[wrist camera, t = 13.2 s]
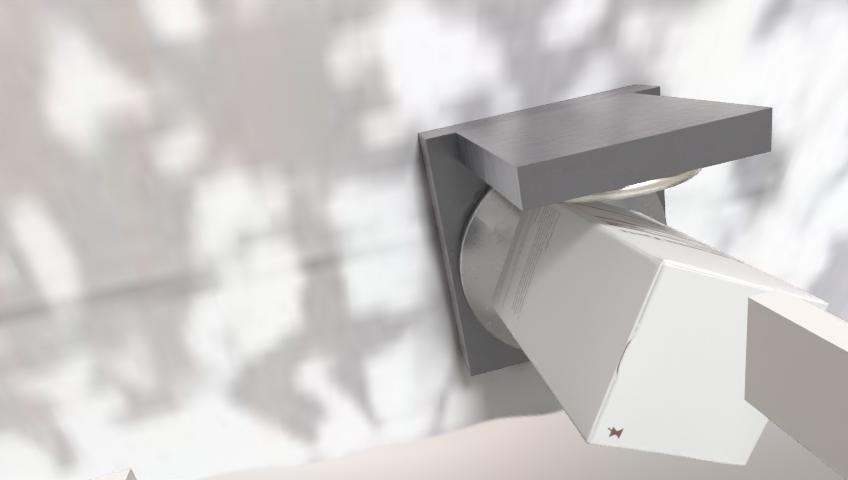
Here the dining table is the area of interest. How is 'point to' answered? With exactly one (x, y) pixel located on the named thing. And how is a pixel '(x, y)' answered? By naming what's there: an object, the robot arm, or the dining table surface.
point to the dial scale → (564, 181)
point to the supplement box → (636, 329)
